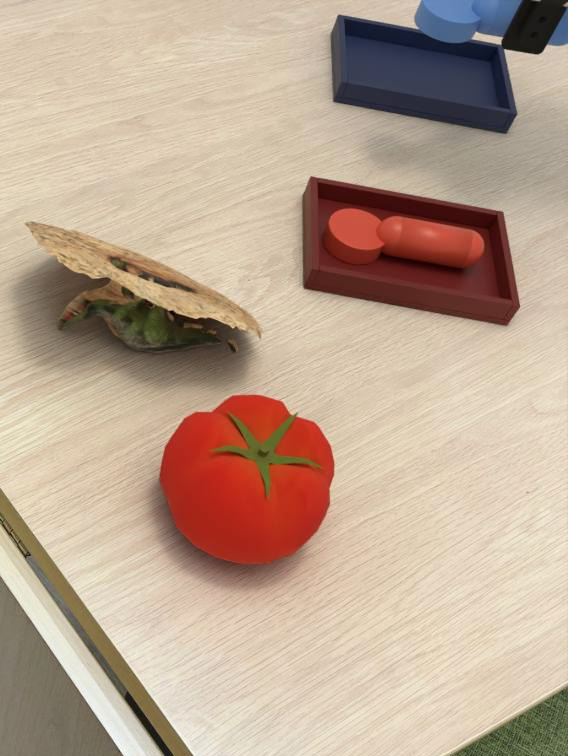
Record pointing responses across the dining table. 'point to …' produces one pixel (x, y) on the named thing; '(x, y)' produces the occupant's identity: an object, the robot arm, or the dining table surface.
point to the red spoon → (399, 240)
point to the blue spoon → (474, 19)
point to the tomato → (248, 479)
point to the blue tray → (421, 74)
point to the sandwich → (140, 295)
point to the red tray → (405, 276)
